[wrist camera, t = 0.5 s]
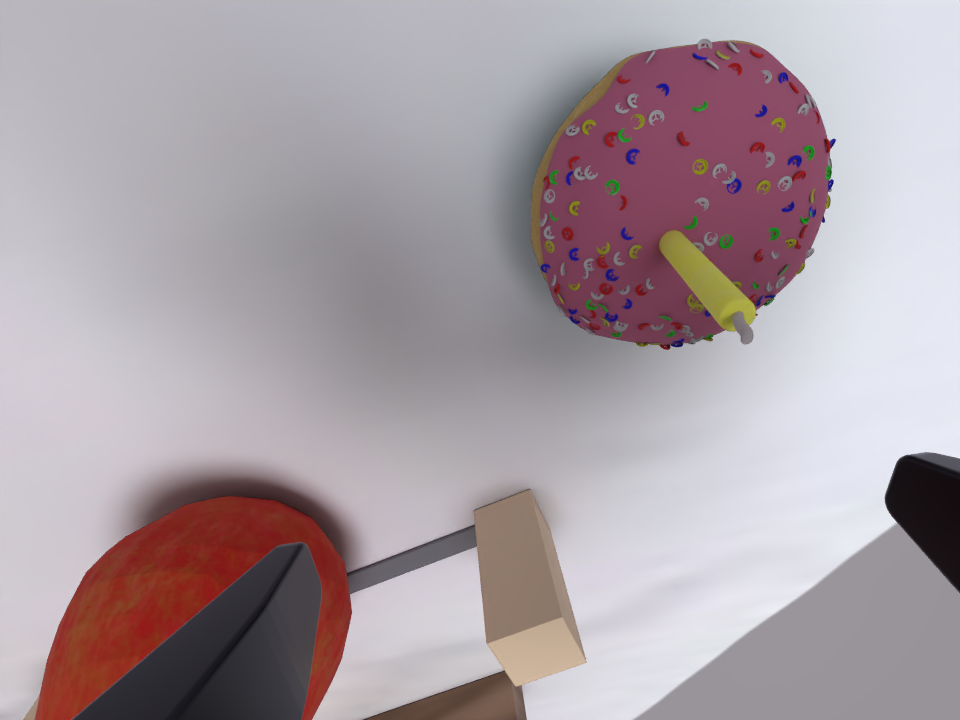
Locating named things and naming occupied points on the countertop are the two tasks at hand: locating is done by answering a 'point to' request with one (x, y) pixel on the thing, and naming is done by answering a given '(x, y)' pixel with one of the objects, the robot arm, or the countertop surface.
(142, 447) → the countertop surface
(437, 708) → the batten
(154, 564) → the apple
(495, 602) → the beige upright piece
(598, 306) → the cupcake
